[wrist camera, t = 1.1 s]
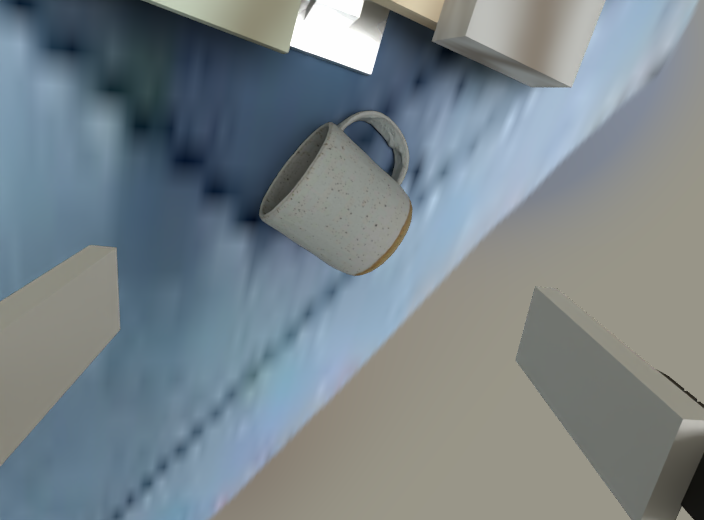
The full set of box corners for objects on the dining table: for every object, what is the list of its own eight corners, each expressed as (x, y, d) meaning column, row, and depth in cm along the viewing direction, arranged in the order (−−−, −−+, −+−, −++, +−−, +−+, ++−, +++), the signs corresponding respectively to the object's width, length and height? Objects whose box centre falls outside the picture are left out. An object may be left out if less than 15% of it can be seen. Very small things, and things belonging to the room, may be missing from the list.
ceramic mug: (342, 265, 37) (367, 301, 29) (254, 205, 34) (258, 227, 27) (425, 155, 36) (472, 164, 28) (342, 83, 33) (370, 72, 26)
